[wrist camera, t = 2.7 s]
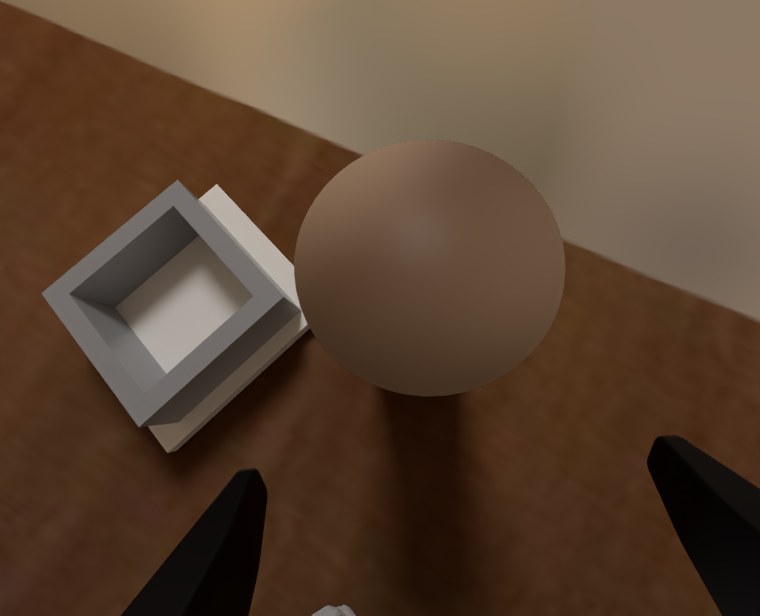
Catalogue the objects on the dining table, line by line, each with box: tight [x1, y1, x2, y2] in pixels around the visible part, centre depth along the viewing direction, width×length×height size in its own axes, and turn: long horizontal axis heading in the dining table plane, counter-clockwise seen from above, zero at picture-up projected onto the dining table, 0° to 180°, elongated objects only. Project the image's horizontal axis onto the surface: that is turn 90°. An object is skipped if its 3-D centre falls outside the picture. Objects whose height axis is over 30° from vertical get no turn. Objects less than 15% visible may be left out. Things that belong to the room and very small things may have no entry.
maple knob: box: [294, 140, 565, 397], centre depth 15 cm, size 6×6×13 cm
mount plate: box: [41, 180, 310, 453], centre depth 20 cm, size 10×11×4 cm
